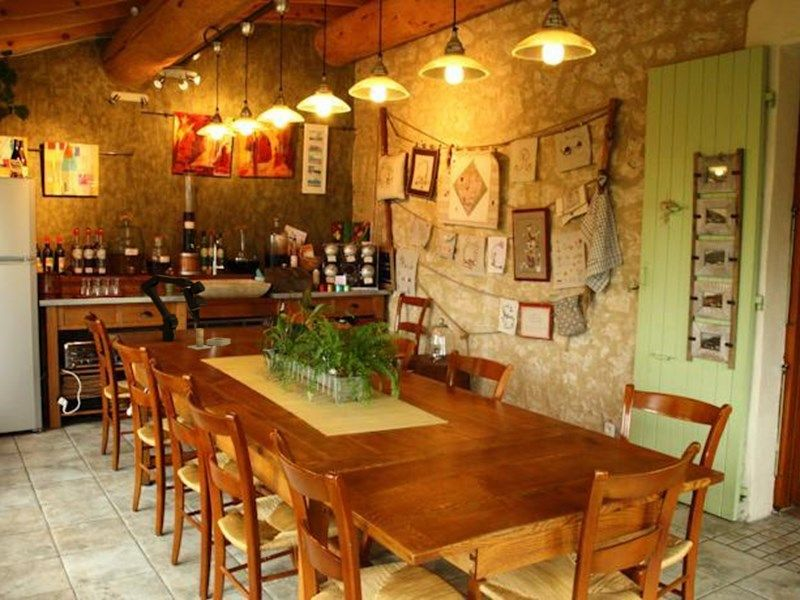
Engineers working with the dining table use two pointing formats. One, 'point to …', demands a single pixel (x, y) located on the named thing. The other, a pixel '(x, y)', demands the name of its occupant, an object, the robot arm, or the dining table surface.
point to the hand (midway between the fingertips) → (199, 322)
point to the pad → (199, 347)
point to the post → (199, 337)
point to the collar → (218, 341)
